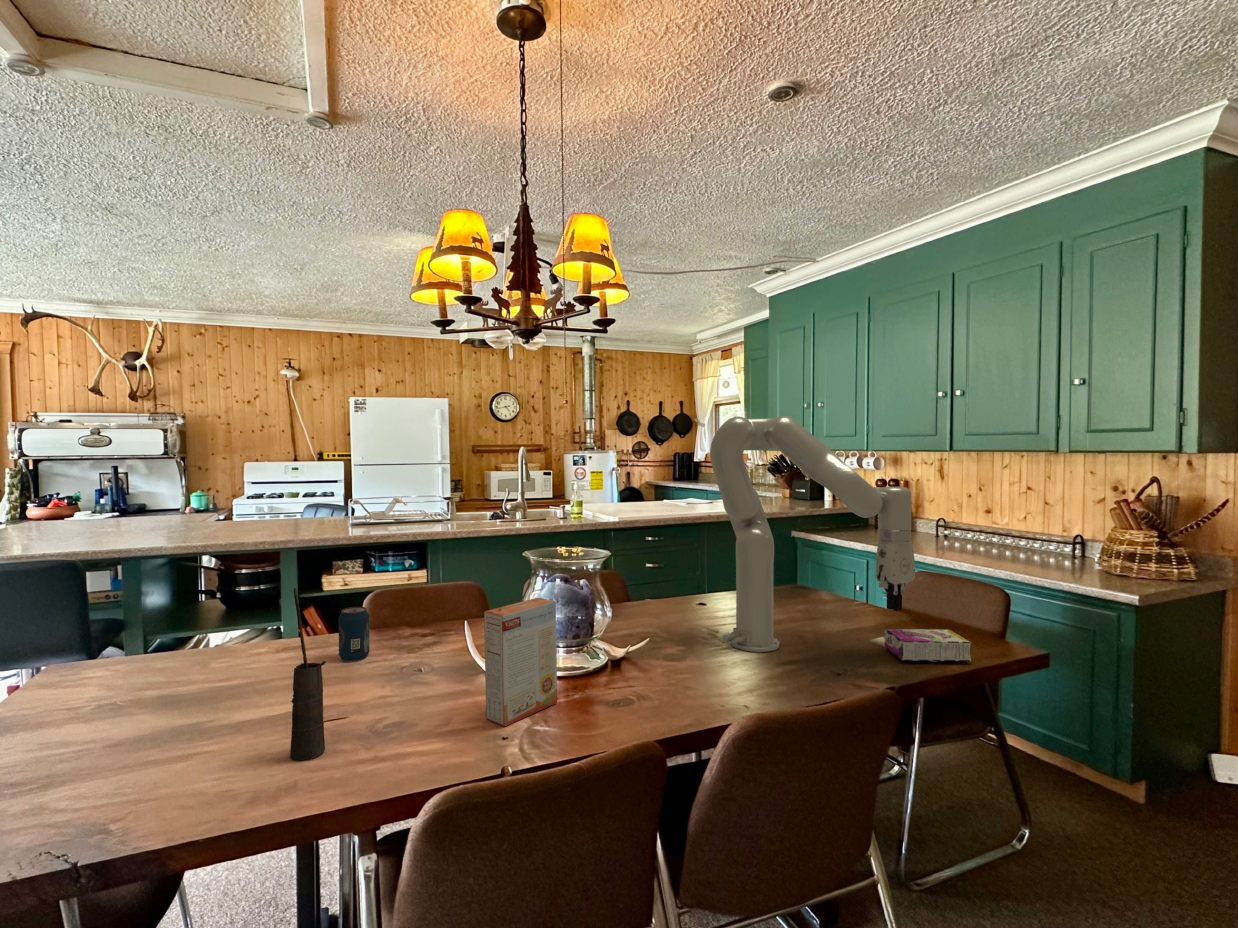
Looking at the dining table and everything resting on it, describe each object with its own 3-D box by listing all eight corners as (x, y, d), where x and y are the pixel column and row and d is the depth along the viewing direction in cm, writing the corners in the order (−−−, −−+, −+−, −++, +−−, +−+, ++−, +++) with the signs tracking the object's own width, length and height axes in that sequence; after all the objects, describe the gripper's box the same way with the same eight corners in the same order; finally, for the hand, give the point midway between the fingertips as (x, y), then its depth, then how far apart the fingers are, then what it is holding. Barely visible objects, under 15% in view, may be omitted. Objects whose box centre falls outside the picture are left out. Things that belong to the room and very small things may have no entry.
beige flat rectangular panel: (935, 662, 148) (935, 659, 148) (868, 642, 163) (868, 640, 163) (964, 652, 155) (964, 650, 155) (898, 634, 170) (898, 632, 170)
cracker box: (537, 696, 127) (537, 595, 127) (558, 703, 123) (558, 600, 123) (483, 719, 116) (482, 609, 116) (504, 728, 113) (503, 614, 112)
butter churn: (351, 736, 109) (350, 580, 109) (335, 763, 100) (333, 592, 99) (296, 740, 108) (294, 581, 107) (274, 768, 98) (272, 594, 98)
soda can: (338, 655, 152) (337, 607, 152) (368, 651, 156) (367, 604, 155) (339, 664, 146) (339, 614, 146) (370, 660, 149) (370, 611, 149)
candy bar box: (883, 627, 157) (949, 628, 157) (883, 646, 158) (948, 648, 157) (902, 640, 146) (972, 641, 146) (902, 661, 146) (972, 662, 146)
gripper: (889, 540, 146) (889, 617, 146) (926, 535, 154) (925, 608, 154) (862, 536, 152) (862, 610, 153) (898, 532, 160) (898, 602, 161)
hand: (894, 609), depth 153 cm, fingers closed
